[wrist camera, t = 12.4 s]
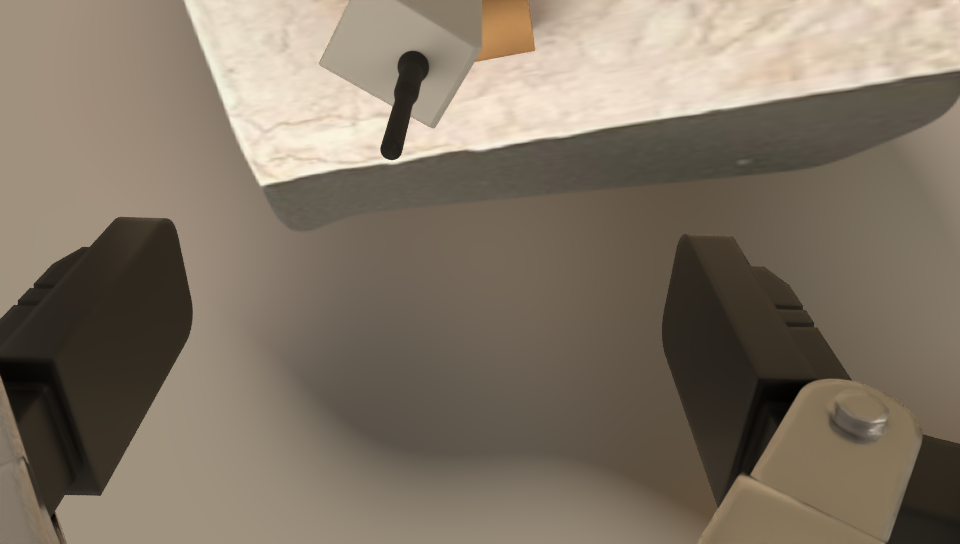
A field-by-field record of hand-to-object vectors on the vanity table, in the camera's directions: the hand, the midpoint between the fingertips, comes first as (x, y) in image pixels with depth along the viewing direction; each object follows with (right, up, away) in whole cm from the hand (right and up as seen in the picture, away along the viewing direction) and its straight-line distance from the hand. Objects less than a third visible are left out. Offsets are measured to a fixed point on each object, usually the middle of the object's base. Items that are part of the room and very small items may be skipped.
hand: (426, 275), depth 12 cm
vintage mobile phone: (-2, +17, +30) cm, 34 cm away
